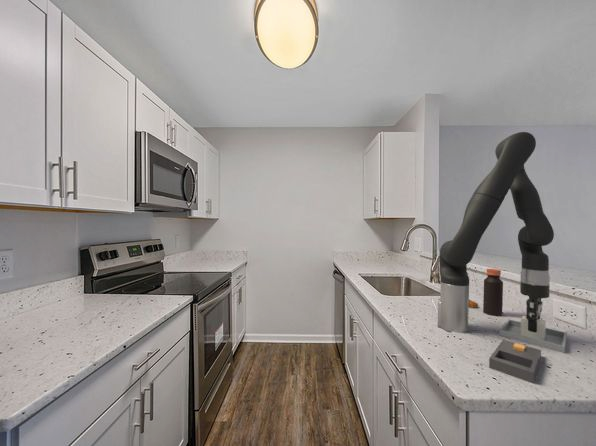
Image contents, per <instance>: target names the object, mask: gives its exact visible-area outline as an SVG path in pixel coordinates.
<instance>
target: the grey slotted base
mask: <svg viewBox="0 0 596 446" xmlns="http://www.w3.org/2000/svg"><path fill="white" fill-rule="evenodd" d="M541 358H542V350H541V349H538V348H536V347H531V346H528V345H524V344H521V343H517V342H513V341H510V340H507V339H502V340H501V342H500V343H499V344H498V345H497V347H496V348H495V350H494V351H493V352H492V354H491V356H490V357H489V361H488V363H489V364H488V368H490V369H491V370H495V371H498V372H501V373H503V374H505V375H508V376H512V377H515V378H517V379H520V380H523V381H525V382H526V381H527V382H528V383H531V384H534V381H535V378H536V376H537V372H538V370H539V366H540V363H541Z"/></svg>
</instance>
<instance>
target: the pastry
mask: <svg viewBox="0 0 596 446" xmlns="http://www.w3.org/2000/svg"><path fill="white" fill-rule="evenodd" d="M477 308H479V304H478V302H476V301H474V300H471V299H469V309H477Z"/></svg>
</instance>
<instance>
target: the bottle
mask: <svg viewBox="0 0 596 446" xmlns="http://www.w3.org/2000/svg"><path fill="white" fill-rule="evenodd" d="M501 272H502V271H501V269H496V268H486V275H487V277H485V278H484V279H483V302H482V303H483V305H482V306H483V309H482V312H483V314H485V315H489V316H492V317H503V306H504V305H503V301H504V298H503V296H504V282H503V280H502V279H501Z"/></svg>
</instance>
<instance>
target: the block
mask: <svg viewBox="0 0 596 446" xmlns="http://www.w3.org/2000/svg"><path fill="white" fill-rule="evenodd" d="M526 316H527V315H526ZM526 316H525V315H522V317H520V322H521V335H523V336H527V337H531V338H535V339H539V340H543V341H544V340H545V331H546V328H547V327H546V325H547V323H546V320H545V319H544V320H543V319H541V318H540V319H538V321H537V332H531V331H528V320H527V318H526Z"/></svg>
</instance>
